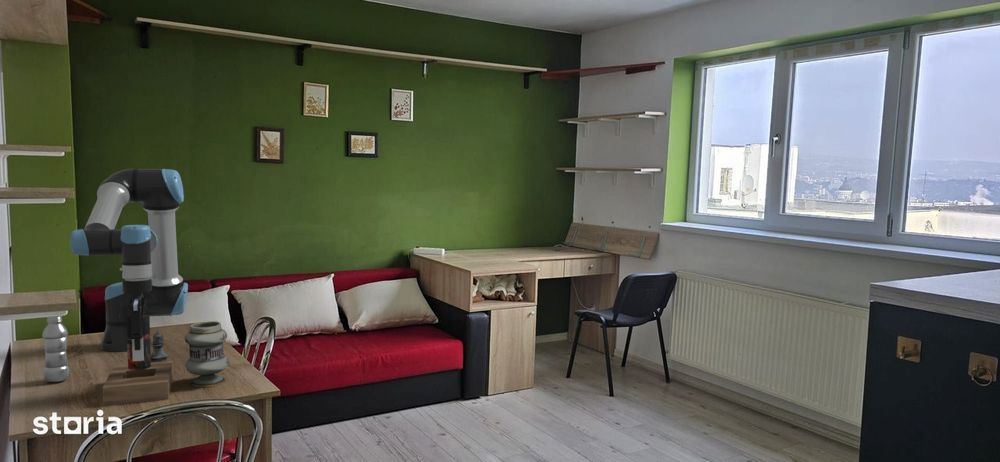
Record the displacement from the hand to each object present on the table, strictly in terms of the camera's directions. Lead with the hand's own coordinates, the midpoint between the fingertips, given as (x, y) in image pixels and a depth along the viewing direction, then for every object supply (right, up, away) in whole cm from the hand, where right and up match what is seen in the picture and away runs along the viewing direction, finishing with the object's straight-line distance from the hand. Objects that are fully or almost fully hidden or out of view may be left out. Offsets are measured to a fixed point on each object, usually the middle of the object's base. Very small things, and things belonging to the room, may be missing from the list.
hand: (139, 357), depth 199 cm
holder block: (0, -10, +1) cm, 10 cm away
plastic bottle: (-29, -9, +8) cm, 31 cm away
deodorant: (0, -3, 0) cm, 3 cm away
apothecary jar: (+16, -9, +10) cm, 21 cm away
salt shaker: (-7, -8, +24) cm, 26 cm away
